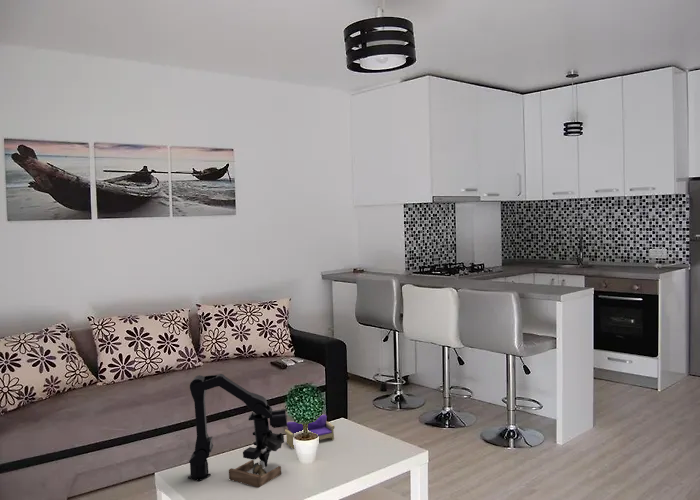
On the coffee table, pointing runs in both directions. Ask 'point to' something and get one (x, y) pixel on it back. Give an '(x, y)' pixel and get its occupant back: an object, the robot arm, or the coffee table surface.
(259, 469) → the eagle figurine
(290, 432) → the toy sofa
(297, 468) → the coffee table surface
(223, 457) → the coffee table surface
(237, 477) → the walnut bay
